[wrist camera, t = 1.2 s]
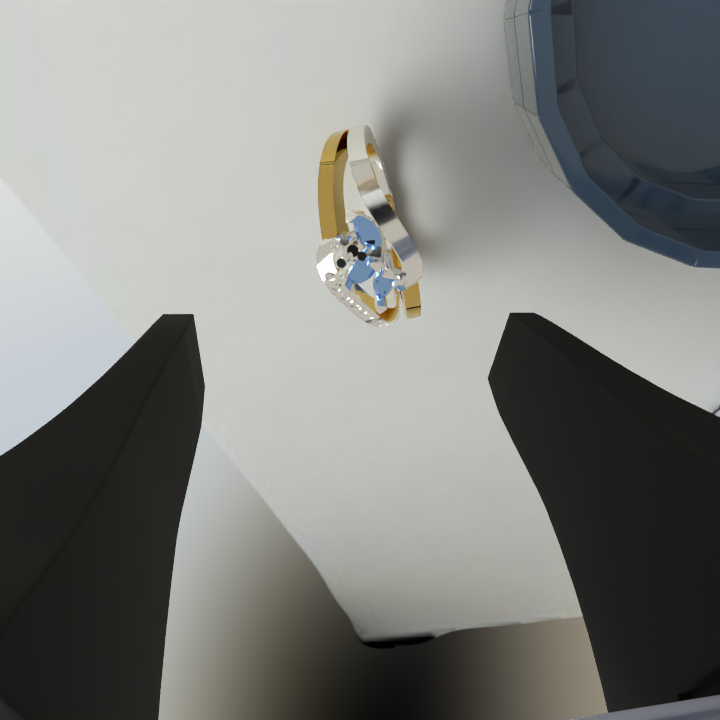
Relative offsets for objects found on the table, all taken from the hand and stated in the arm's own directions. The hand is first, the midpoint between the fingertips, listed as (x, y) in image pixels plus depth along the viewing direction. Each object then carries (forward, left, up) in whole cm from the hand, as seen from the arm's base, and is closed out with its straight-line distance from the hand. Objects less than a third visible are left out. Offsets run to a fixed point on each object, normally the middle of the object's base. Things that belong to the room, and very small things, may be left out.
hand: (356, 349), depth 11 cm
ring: (0, 0, -12) cm, 12 cm away
